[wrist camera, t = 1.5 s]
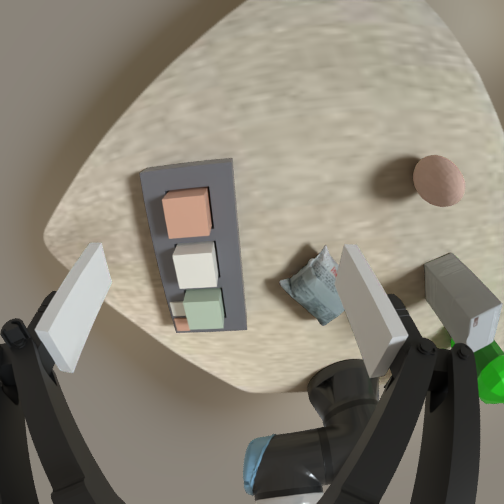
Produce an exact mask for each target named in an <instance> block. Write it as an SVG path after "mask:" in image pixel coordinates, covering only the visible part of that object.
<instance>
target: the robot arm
mask: <svg viewBox="0 0 504 504" xmlns="http://www.w3.org/2000/svg"><path fill="white" fill-rule="evenodd" d="M111 284H112V280H111V277H110V273H109V270H108V266H107V262H106V258H105V255H104V251H103V247H102V243H89V244H88V246H87V247H86V249H85V250H84V251H83V253H82V254H81V256H80V257H79V259H78V260H77V262H76V263H75V264H74V266H73V267H72V269H71V270H70V272H69V274H68V275H67V276H66V278H65V280H64V281H63V283H62V284H61V286H60V287H59V289H58V291H52V292H51V293H50V294H49V295H48V296H47V297H46V298H45V299H44V301H43V303H42V304H41V306H40V308H39V309H38V312H37V313H36V314H35V316H34V317H33V319H32V321H31V323H30V324H29V326H28V328H26V326H25V325H24V323H23V321H22V320H20V319H16V318H15V319H12V320H9V321H8V322H6V324H5V325H4V326H3V327H2V329H1V334H0V335H1V336H2V338H3V339H4V341H5V342H6V343H5V344H0V504H39V502H38V498H37V494H36V490H35V485H34V480H33V476H32V471H31V465H30V460H29V452H28V445H27V437H26V427H25V419H26V422H27V425H28V428H29V431H30V434H31V437H32V440H33V443H34V446H35V448H36V451H37V453H38V456H39V458H40V461H41V463H42V466H43V468H44V470H45V473H46V475H47V477H48V479H49V481H50V483H51V486H52V488H53V492H52V494H51V499H52V501H53V504H125V502H124V501H123V500H122V499H121V498H120V497H118V496H117V494H116V493H115V492H114V490H113V489H112V487H111V486H110V484H109V483H108V481H107V480H106V478H105V476H104V475H103V473H102V471H101V470H100V468H99V466H98V464H97V463H96V461H95V459H94V457H93V456H92V454H91V452H90V450H89V448H88V447H87V445H86V443H85V441H84V439H83V437H82V435H81V433H80V431H79V429H78V427H77V425H76V423H75V420H74V418H73V416H72V414H71V411H70V409H69V407H68V405H67V402H66V400H65V398H64V395H63V392H62V390H61V387H60V385H59V382H58V380H57V377H56V374H55V372H54V371H53V366H54V364H55V363H56V365H57V367H58V368H59V370H60V371H65V372H70V373H73V372H74V370H75V367H76V364H77V362H78V359H79V357H80V354H81V352H82V349H83V347H84V344H85V342H86V339H87V337H88V334H89V332H90V330H91V327H92V325H93V323H94V320H95V318H96V316H97V314H98V311H99V309H100V307H101V305H102V303H103V301H104V298H105V296H106V294H107V292H108V290H109V288H110V286H111ZM334 285H335V287H336V290H337V292H338V295H339V297H340V300H341V302H342V305H343V307H344V310H345V312H346V315H347V317H348V320H349V323H350V325H351V328H352V331H353V333H354V336H355V339H356V341H357V344H358V347H359V349H360V352H361V355H362V358H363V360H359V359H353V360H346V361H342V362H338V363H335V364H333V365H330V366H328V367H326V368H325V369H323V370H321V371H320V372H319V373H317V374H316V375H315V376H314V377H313V378H312V379H311V381H310V383H309V385H308V395H309V400H310V402H311V404H312V405H313V407H314V408H315V410H316V411H317V413H318V414H319V416H320V417H321V419H322V420H323V425H324V427H321V428H316V429H311V430H305V431H300V432H294V433H287V434H280V435H276V434H273V435H271V436H266V437H260V438H256V439H254V440H252V441H251V442H250V443H249V445H248V447H247V450H246V454H245V459H244V468H243V479H244V488H245V491H246V493H248V494H249V495H252V496H253V495H255V503H256V504H379V502H380V500H381V498H382V496H383V494H384V493H385V491H386V489H387V487H388V485H389V483H390V481H391V479H392V477H393V475H394V473H395V471H396V469H397V467H398V465H399V463H400V461H401V459H402V456H403V454H404V452H405V450H406V447H407V445H408V443H409V440H410V438H411V435H412V433H413V430H414V428H415V425H416V422H417V420H418V417H419V414H420V412H421V409H422V406H423V403H424V400H425V397H426V401H425V415H424V425H423V435H422V443H421V450H420V456H419V463H418V468H417V474H416V479H415V484H414V489H413V493H412V498H411V502H410V504H475V500H476V493H477V485H478V474H479V460H480V459H479V458H480V405H479V390H478V379H477V370H476V362H475V355H474V352H473V351H472V349H471V348H470V347H469V346H468V345H466V344H464V343H456V344H454V346H453V347H452V348H451V350H446V349H439V348H437V347H436V345H435V344H434V343H433V342H432V341H430V340H429V339H426V338H423V337H422V336H421V334H420V333H419V331H418V329H417V327H416V325H415V324H414V322H413V320H412V318H411V316H409V313H408V311H407V310H406V308H405V306H404V304H403V303H402V301H401V300H400V299H399V298H398V297H397V296H396V295H395V294H386V293H385V291H384V289H383V287H382V286H381V284H380V282H379V280H378V279H377V277H376V275H375V274H374V272H373V270H372V268H371V267H370V265H369V263H368V262H367V260H366V259H365V257H364V255H363V254H362V252H361V250H360V249H359V247H358V246H357V245H353V244H344V247H343V251H342V256H341V260H340V264H339V268H338V272H337V276H336V280H335V284H334ZM389 368H390V370H391V373H392V376H391V377H390V379H389V380H388V382H387V383H386V385H385V386H384V388H385V390H384V392H383V394H382V396H381V398H380V400H379V377H380V376H385V374H386V373H387V371H388V369H389ZM328 484H331V485H330V486H329V488H328V489H327V490H326V492H325V493H324V495H323V488H322V486H323V485H328ZM320 498H321V499H320ZM319 499H320V500H319ZM318 500H319V501H318Z"/></svg>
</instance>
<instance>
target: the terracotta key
mask: <svg viewBox="0 0 504 504" xmlns="http://www.w3.org/2000/svg"><path fill="white" fill-rule="evenodd" d="M162 203H163V209H164V214H165V220H166V225H167V231H168V236H169V239H173V238H185V237H198V236H209V235H210V231H211V227H212V223H213V222H212V213H211V205H210V197H209V188H208V186H206V187H195V188H186V189H177V190H169V192H168V193H167V194H166V195H165V196H164V198H163V199H162Z"/></svg>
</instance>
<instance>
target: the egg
mask: <svg viewBox="0 0 504 504" xmlns="http://www.w3.org/2000/svg"><path fill="white" fill-rule="evenodd" d="M413 182H414V186H415V188H416V190H417V192H418V193H419V195H420V196H421V197H422V198H423V199H424V200H425V201H427V202H429V203H430V204H433V205H435V206H440V207H446V206H452V205H454V204H456V203H458V202H459V201H460V200H461V199H462V197H463V195H464V193H465V180H464V178H463V175H462V173H461V172H460V170H459V169H458V167H457V166H456V165H455V164H454V163H453V162H452V161H450V160H449V159H447V158H444V157H442V156H438V155H431V156H427V157H425V158H422V159H421V160H420V161H419V162H418V163H417V165H416V166H415V169H414V173H413Z"/></svg>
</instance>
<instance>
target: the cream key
mask: <svg viewBox="0 0 504 504" xmlns="http://www.w3.org/2000/svg"><path fill="white" fill-rule="evenodd" d="M172 256H173V261H174V265H175V270H176V275H177V279H178V284H179V288H180V289H187V288H205V287H217V281H218V274H219V267H218V260H217V253H216V245H215V241H206V242H193V243H180V244H177V246H176V248H175V251H174V253H173V255H172Z"/></svg>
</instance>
